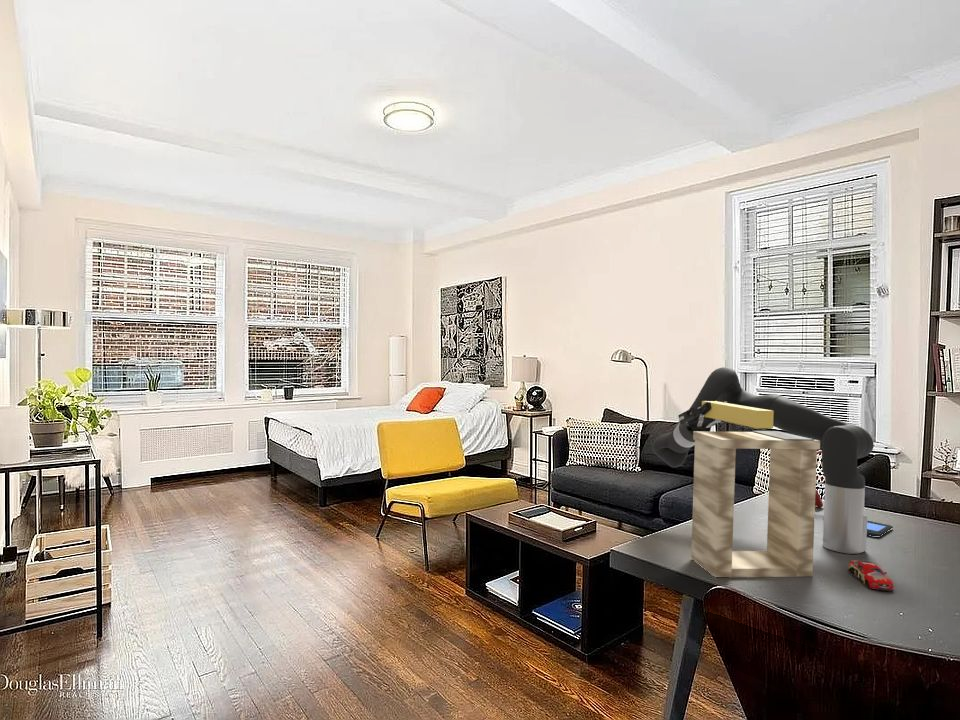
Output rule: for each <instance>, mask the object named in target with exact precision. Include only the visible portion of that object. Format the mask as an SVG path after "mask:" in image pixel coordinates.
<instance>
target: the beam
mask: <svg viewBox="0 0 960 720" xmlns="http://www.w3.org/2000/svg"><path fill="white" fill-rule="evenodd" d="M706 402H711V410H710V411H709V412H708V413H707V414H706V415H704V417H708V418H713V419H717V420H722V421H726V422H727V423H731V424H735V425H739V426H743V427H744V426H745V427H750V428H754V429H774V426H773V415H774V411H772V410H766V409H760V408H754V407H748V406H742V405H736V404H729V403H723V402H717V401H702V405H703V404H705V403H706Z"/></svg>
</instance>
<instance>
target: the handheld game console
mask: <svg viewBox="0 0 960 720" xmlns="http://www.w3.org/2000/svg"><path fill="white" fill-rule="evenodd" d="M893 527H894V526H893V525H891V524H886V523H882V522H876V521H870V520H867V535H871V536H881V535H882V534H884V533H885V532H887V531H888V530H890V529H891V528H893ZM893 529H894V528H893ZM881 537H882V536H881Z"/></svg>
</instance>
